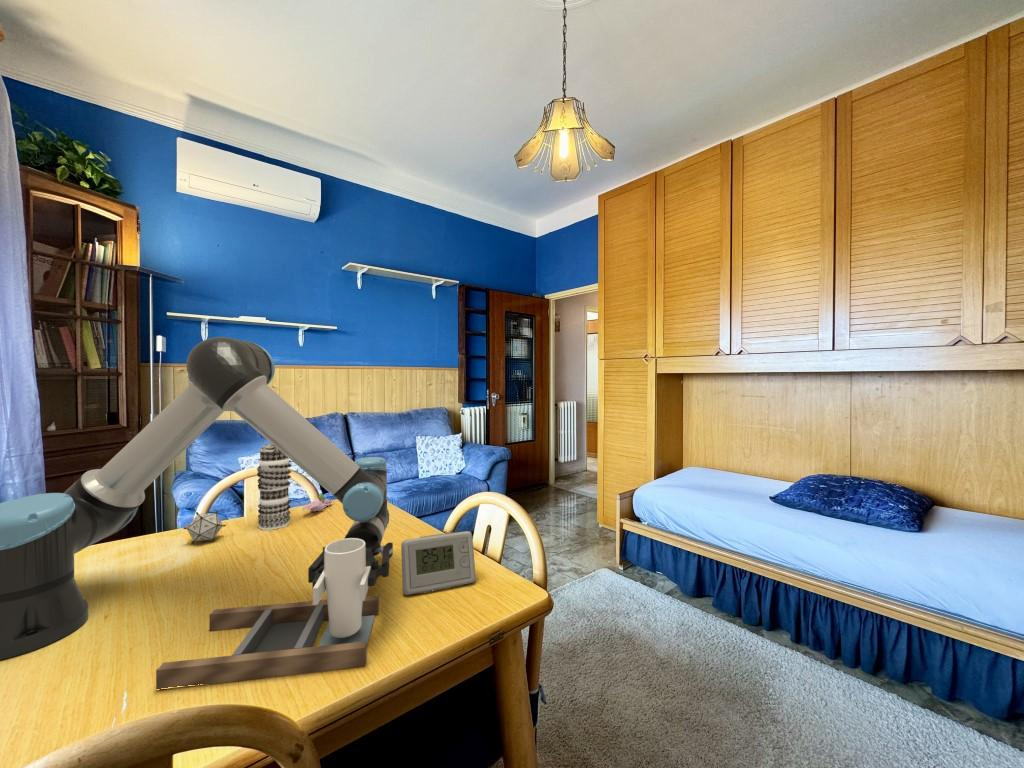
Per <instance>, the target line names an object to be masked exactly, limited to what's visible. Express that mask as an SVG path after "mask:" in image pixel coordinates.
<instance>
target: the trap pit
mask: <svg viewBox="0 0 1024 768" xmlns="http://www.w3.org/2000/svg"><path fill="white" fill-rule="evenodd" d="M323 622H324V620H323V605H317V606H316V607H315V609H314V611H313V613H312V615H311V617H310V619H309V621H298V622H287V623H277V624H272V609H271V610H265V611H264V612H263V614H262V615H261V616H260V618H259V619H258V620H257V622H256V623H255V625H254V626H253V627H251V628H250V630H249V631H248V633H246V635H245V637H243V639H242V641H241V642H240V644H239V645H238V646H237V647H236V649H235V650H234V652H233V653H232V654H231V656H232V655H241V654H251V653H260V652H270V651H279V650H289V649H298V648H308V647H313V644H314V642H315V639H316V638H317V636H318V633H319V631H320V629H321V627H322V625H323Z"/></svg>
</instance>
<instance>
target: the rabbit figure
mask: <svg viewBox="0 0 1024 768" xmlns="http://www.w3.org/2000/svg"><path fill="white" fill-rule="evenodd" d="M318 499H319V500H317V499H316V500H315V499H314V500H313V501H311V502H310V503H308V504H305V505H303V506H302V511H305V510H307V511H311V512H316V511H319V510H320V511H323V510H324V509H325V508H326V507H325V506H329V507H331V506H332V504H331V503H332V501H333V499H331V500H329V499H328V498H325V496H323V492H322V493H321V492H320V493H319V494H318ZM333 503H334V501H333ZM334 504H335V503H334ZM330 505H331V506H330ZM320 511H319V512H320Z"/></svg>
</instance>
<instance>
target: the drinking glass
mask: <svg viewBox="0 0 1024 768" xmlns="http://www.w3.org/2000/svg"><path fill="white" fill-rule="evenodd" d="M324 547H325V546H324ZM365 570H366V546H365V541H363V540H362V539H358V538H346V539H344V538H342V539H341V538H340V539H337V540H335V541H332V542H330V543H328V544H327V545H326V547H325V552H324V575H325V586H326V590H325V593H326V600H327V606H328V617H329V620H328V623H329V632H330V634H331V635H332V636H333V637H336V638H345V637H349V636H351V635H353V634H355V633H356V632H357V631H358V630H359V629H360V628H361V625H362V606H363V601H360V582H361V580H362V577H363V574H364V572H365Z"/></svg>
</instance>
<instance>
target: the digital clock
mask: <svg viewBox="0 0 1024 768" xmlns="http://www.w3.org/2000/svg"><path fill="white" fill-rule="evenodd" d="M473 539H474V538H473V534H472V532H471V531H470V530H465V531H458V532H454V531H453V532H445V533H438V534H433V535H431V534H430V535H424V536H420V537H416V538H415V537H414V538H410V539H409V538H407V539H404V540H402V542H401V544H400V545H401V546H400V547H401V548H400V549H401V553H400V554H401V580H402V581H401V582H402V593H403V594H404V595H406V596H408V595H416V594H420V593H422V594H425V593H424V592H427V593H429V592H428V591H432V590H433V591H432V592H435V591H434V590H437V591H441V590H440V589H443V590H446V589H445V588H448V589H450V588H449V587H453V588H455V587H454V586H459V587H461V586H463V585H468V584H473V583H474V582H475V581H476V575H477V574H476V564H475V553H474V551H475V549H474V540H473ZM460 585H461V586H460Z"/></svg>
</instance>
